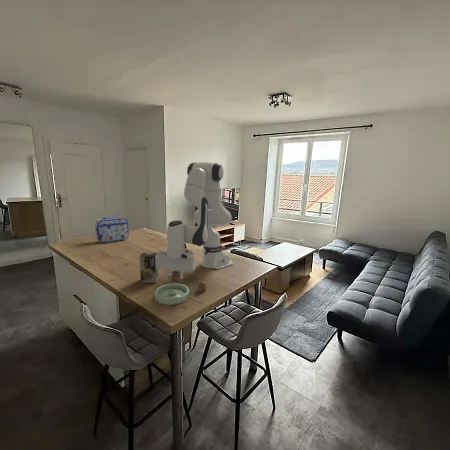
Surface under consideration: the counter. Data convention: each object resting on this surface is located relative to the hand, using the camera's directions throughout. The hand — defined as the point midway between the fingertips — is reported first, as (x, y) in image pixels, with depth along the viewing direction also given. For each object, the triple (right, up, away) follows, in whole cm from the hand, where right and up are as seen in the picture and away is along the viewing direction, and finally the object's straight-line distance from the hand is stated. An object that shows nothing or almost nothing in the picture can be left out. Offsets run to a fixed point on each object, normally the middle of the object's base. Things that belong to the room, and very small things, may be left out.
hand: (175, 277), depth 127 cm
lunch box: (-76, +13, +91) cm, 119 cm away
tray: (-1, -9, -2) cm, 9 cm away
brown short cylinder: (+13, -8, +4) cm, 16 cm away
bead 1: (0, -2, 0) cm, 2 cm away
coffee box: (-18, -5, +15) cm, 24 cm away
